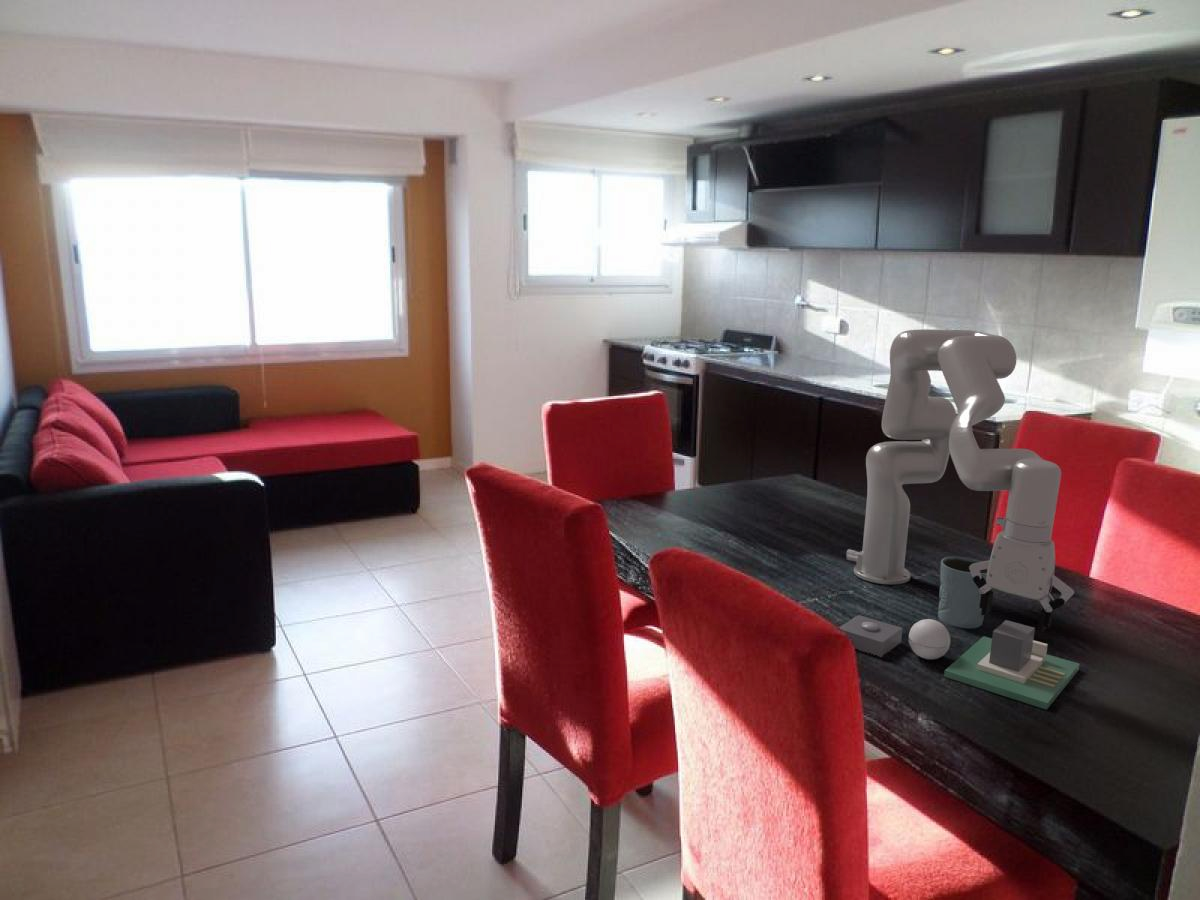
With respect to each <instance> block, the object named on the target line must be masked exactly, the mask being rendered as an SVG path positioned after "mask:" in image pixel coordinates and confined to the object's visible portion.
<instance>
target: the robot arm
mask: <svg viewBox="0 0 1200 900" xmlns="http://www.w3.org/2000/svg"><path fill="white" fill-rule="evenodd" d="M1017 360H1018V359H1017V352H1016V350H1015V348H1014V346H1013V344H1012V343H1011V341H1010V340H1008V339H1007V338H1006V337H1004V336H1001V335H998V334H993V333H992V334H991V333H986V332H982V331H976V330H972V329H971V330H967V329H966V330H965V329H925V328H924V329H908V330H903V331H902V332H900V333H898V334H897V335H896V336H895V338H894V339H893V340H892V342H891V345H890V350H889V367H890V368H889V369H890V378H889V382H888V385H887V386H888V387H887V391H886V397H885V401H884V407H883V412H882V417H881V429H882V432H883V434H884V435H885V436H886V437H888V438H890V439H893V440H901V441H883V442H879V443H876V444H874V445H873V446H871V447H870V448H869V449H868V451H867V453H866V457H865V469H866V479H867V490H866V491H867V493H866V494H867V495H866V504H865V505H866V507H865V518H864V527H863V528H864V529H863V540H862V541H863V542H862V549H861V550H862V551H861V550H860V551H857V550H853V549H851V548H848V549H847V550H846V554H845V556H846V560H848V561H852V562H855V563H856V564H855V565H854V567H853V574H854V575H855V576H856V577H858V578H860V579H861V580H864V581H867V582H870V583H873V584H879V585H889V586H890V585H892V586H893V585H902V584H906V583H907V582H909V581H910V580H911V573H910V571H909V570H908V569H906V568H905V561H906V551H907V544H908V542H907V541H908V534H909V533H908V532H909V524H910V523H909V522H910V515H911V513H910V512H911V502H910V499H909V497H908V495H907V493H906V492H905V490H904V488H903V485H909V484H913V485H914V484H932V483H936V482H938V481H939V480H941V479H942V477H943V476H944V475H945V472H946V469H947V466H948V462H949V458H950V457H951V460H952V463H953V465H954V468H955V471H956V473H957V475H958V478H959V480H960V481H961V482H962V484H963V485H964V486H966V487H967V488H968V489H969V490H972V491H976V492H982V491H983V492H997V491H998V492H999V491H1000V492H1001V491H1003V492H1005V491H1006V492H1008V491H1009V492H1008V498H1007V506H1006V512H1005V516H1004V517H1002V516H1001V517H1000V516H998V517H996V522H995V525H999V526H1000V527H1002V528H1001V531H1000V532H997V535H996V538H995V540H994V543H993V546H992V550H991V553H990V558H989V559H988V560H984V561H983V560H982V561H983V562H978V563H974V564H972V565H970V566H969V569H970V572H971V575H972V576H973V581H974V583H975V584H976V585H977V587H978V588H979V592H980V593H981V599H980V606H979V607H980V608H982V611H981V615H984V617H985V616H986V615H988V614H989V613H990V612H991V611H992V603H993V598H994V591H993V589H994V590H995V591H996V590H997V591H1000V592H1003V593H1006V594H1007V593H1008V594H1009V595H1010V594H1012V595H1015V596H1018V597H1022V598H1025V599H1028V600H1029V599H1030V600H1032V601H1039V603H1040V604H1041V606H1042V609H1041V610H1040V615H1039V618H1038V619H1039V621H1038V624H1037V625H1038V626H1037V631H1038V632H1039V633H1043V632H1044V631H1045V630H1046V629H1049V628H1050V627H1051V625H1052V621H1053V620H1052V619H1053V613H1054V610H1057V609H1058V608H1061V607H1062V606H1064V605H1065V604H1066V603H1067V601H1068V600H1069V599H1071V597H1072V596H1073V595H1075V590H1074V589H1073V588H1071V587H1070V586H1069V585H1068V584H1067V583H1065V582H1063V581H1062V580H1061V579H1060V578H1059V577H1058V576H1056V575H1055V567H1056V553H1055V552H1056V548H1055V547H1056V546H1055V542H1054V541H1053V540H1052V534H1053V527H1054V521H1055V515H1056V509H1057V502H1058V496H1059V491H1060V485H1061V478H1062V470H1061V468H1060V466H1059V465H1058V464H1057V463H1055V462H1053V461H1049V460H1045V459H1043V458H1042V457H1040V455H1039V454H1037V453H1036V452H1035V451H1033V450H1030V449H1028V448H1027V449H1026V448H980V447H979V445H978V442H977V441H976V440H977V439H976V438H975V435H974V433H973V432H974V431H973V426H975V425H977V424H979V423H982V422H983V421H985V420H987V419H989V418H991V417H993V416H994V415H996V414H997V413H998V412H999V411H1001V409H1002V407H1004V405H1005V402H1006V398H1005V397H1006V396H1005V394H1004V392H1003V389H1002V388H1001V385H1000V383H999V380H1001V379H1005V378H1008V377H1009V376H1011V375H1012V373H1013V372H1014V371H1015V369H1016V365H1017ZM929 371H935V372H937V371H938V372H942V375H943V377H944V380H945V383H946V384H947V387H948V389H949V392H950V394H951V397H952V400H953V401H954V405H955V406H954V405H953V403H952V402H951V401H950V400H949V399H947V398H945V397H941V396H929V394H930V390H931V384H932V381H931V380H932V379H931V376H930V373H929ZM955 407H956V409H955ZM956 410H957V413H956ZM906 440H908V441H906ZM909 440H910V441H909ZM913 440H914V441H913ZM917 440H918V441H917ZM919 440H920V441H919ZM984 569H988V570H987V575H986V581H985V579H984V578H983V576H982V575H981V574H980V570H984ZM1053 587H1054V588H1055V589H1056V590H1058V592H1060V593H1061V595H1060V596H1059V597H1058V598H1056V599H1054V597H1053V596H1052V595H1051V592H1052V591H1053V590H1052V589H1053Z"/></svg>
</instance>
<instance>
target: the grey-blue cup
mask: <svg viewBox="0 0 1200 900" xmlns="http://www.w3.org/2000/svg"><path fill="white" fill-rule="evenodd" d="M978 562H983V560H980V559H976V558H972V557H963V556H948V557H944V558H942V559H941V561H940V574H939V575H940V577H939V580H940V586H939V595H938V598H939V603H938V611H937V612H938V613H937V616H938V619H939V620H940V621H941V623H944V624H946V625H948V626H951V627H956V628H959V629H960V628H961V629H977V628H980V627H981V626H982V625H983V623H984V618H985V616H984V615H981V611H982V608H980V607H979V606H980V599H981V593H980V592H979V588H978V587H977V585H976V584H975V583H974V581H973V576H972V575H971V572H970V569H969V566H970V565H972V564H974V563H978ZM987 570H988V569H984V570H980V574H981V575H982V576H983V578H984V579H985V581H986V575H987Z"/></svg>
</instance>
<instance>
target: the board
mask: <svg viewBox="0 0 1200 900" xmlns="http://www.w3.org/2000/svg"><path fill="white" fill-rule="evenodd" d="M991 644H992V637H987V636H984V635H983V636H982V637H981V638H979V640H978V641H976V642H975V643H974V644H972V646H971V647H970V648H969V649H967V650H966V651H965V652H964V653H963V654H961V655H960V657H958V658H957V659H956V660H955V661H953V662H952V663H951V664H950V665H949V666H948V667H947V668H946V669H944V673H943V677H944V678H946V679H947V678H948V679H950V680H954V681H956V682H960V683H963V684H965V685H966V684H967V685H968V686H972V687H975V688H978V689H981V690H985V691H987V692H991V693H994V694H996V695H999V696H1003V697H1006V698H1008V699H1012V700H1015V701H1019V702H1022V703H1025V704H1028V705H1031V706H1034V707H1036V708H1040V709H1044V710H1048V709H1049V707H1050V706H1051V705H1052V704H1053V703H1054V702H1055V700H1056V699H1057V697H1059V695H1060V694H1061V693H1062V691H1063V690H1064V689H1065V688H1066V686H1067V685H1068V684H1069V683H1070V681H1071V680H1072V679H1073V678H1074V677H1075V676H1076V674H1077V673H1078V671H1080V670H1079V669H1080V663H1078V662H1075V661H1072V660H1068V659H1064V658H1061V657H1057V656H1053V655H1052V654H1051V655H1050V654H1047V651H1048V646H1049V644H1048V643H1044V642H1041V641H1037V640H1034V639H1033V646H1032V653H1031V659H1030V660H1029V661H1028V662H1027V663H1026V664H1025V665H1024V667H1023V668H1022V669H1021V670H1020V671H1019V672H1018V671H1014V670H1011V669H1008V668H1004V667H1001V666H998V665H994V664H991V663H989V659H990V651H991Z"/></svg>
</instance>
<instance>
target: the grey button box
mask: <svg viewBox="0 0 1200 900" xmlns="http://www.w3.org/2000/svg"><path fill="white" fill-rule="evenodd" d="M838 628H840V629H841V630H843V631H844V632H846V633H847V634H848V635H849V636H850V637H851V639H852V640H853V642H854V644H855V648H856V649H858V650H857V651H861V652H863V653H866V652H867V653H866V654H869V653H871V654H870V655H872V654H873V656H875V655H877V656H876V657H878V656H879V658H882V657H884V656H885V655H886V654H888V653H889V652H891V651H892V650H893V649H895V648H896V647H897V646H898V645H900V644H901V643H902V638H903V637H902V635H903V627H902V626H901V627H900V626H897V625H893V624H891V623H887V622H883V621H880V620H877V619H873V618H870V617H867V616H865V615H860V614H857V615H856V616H855V617H853V618H851V619H850V620H848V621H847V622H845V623H843V624H842V625H841V626H839V627H838ZM856 649H855V650H856ZM891 649H892V650H891ZM887 652H888V653H887ZM885 653H886V654H885ZM884 654H885V655H884ZM883 655H884V656H883Z"/></svg>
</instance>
